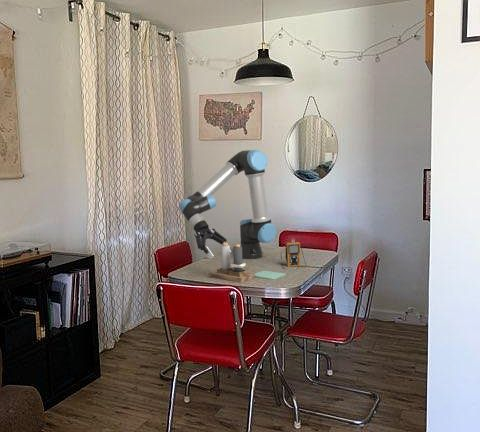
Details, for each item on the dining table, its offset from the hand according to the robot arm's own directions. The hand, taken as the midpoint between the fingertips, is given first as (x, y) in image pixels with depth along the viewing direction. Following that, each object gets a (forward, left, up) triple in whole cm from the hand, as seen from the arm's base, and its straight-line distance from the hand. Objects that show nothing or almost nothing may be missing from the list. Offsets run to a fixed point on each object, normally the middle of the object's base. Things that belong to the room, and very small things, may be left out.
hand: (221, 255), depth 250 cm
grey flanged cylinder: (-1, +10, -9) cm, 13 cm away
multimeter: (-37, +21, -11) cm, 44 cm away
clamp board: (-1, +6, -11) cm, 13 cm away
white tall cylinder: (-1, +2, -9) cm, 9 cm away
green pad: (-14, +19, -11) cm, 26 cm away
